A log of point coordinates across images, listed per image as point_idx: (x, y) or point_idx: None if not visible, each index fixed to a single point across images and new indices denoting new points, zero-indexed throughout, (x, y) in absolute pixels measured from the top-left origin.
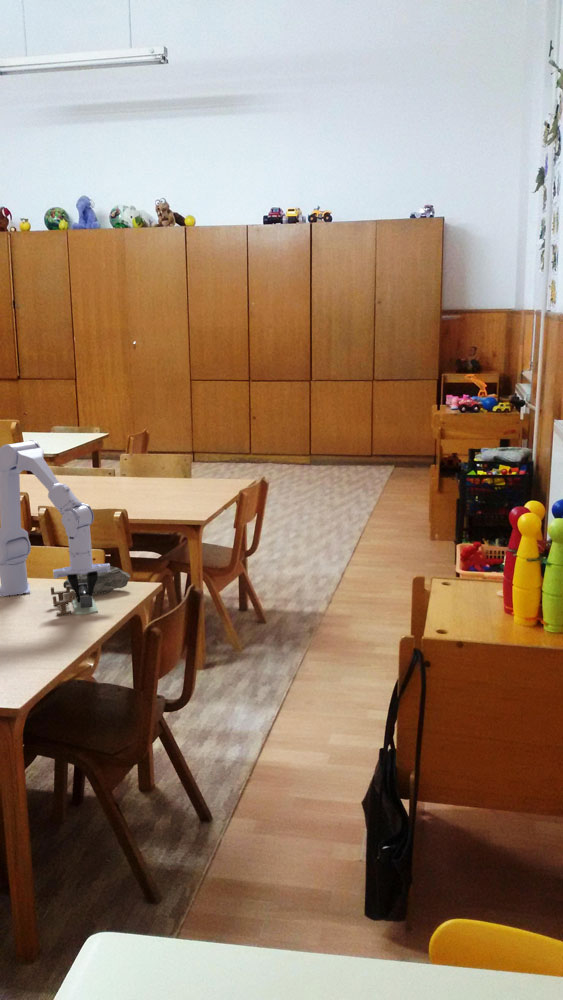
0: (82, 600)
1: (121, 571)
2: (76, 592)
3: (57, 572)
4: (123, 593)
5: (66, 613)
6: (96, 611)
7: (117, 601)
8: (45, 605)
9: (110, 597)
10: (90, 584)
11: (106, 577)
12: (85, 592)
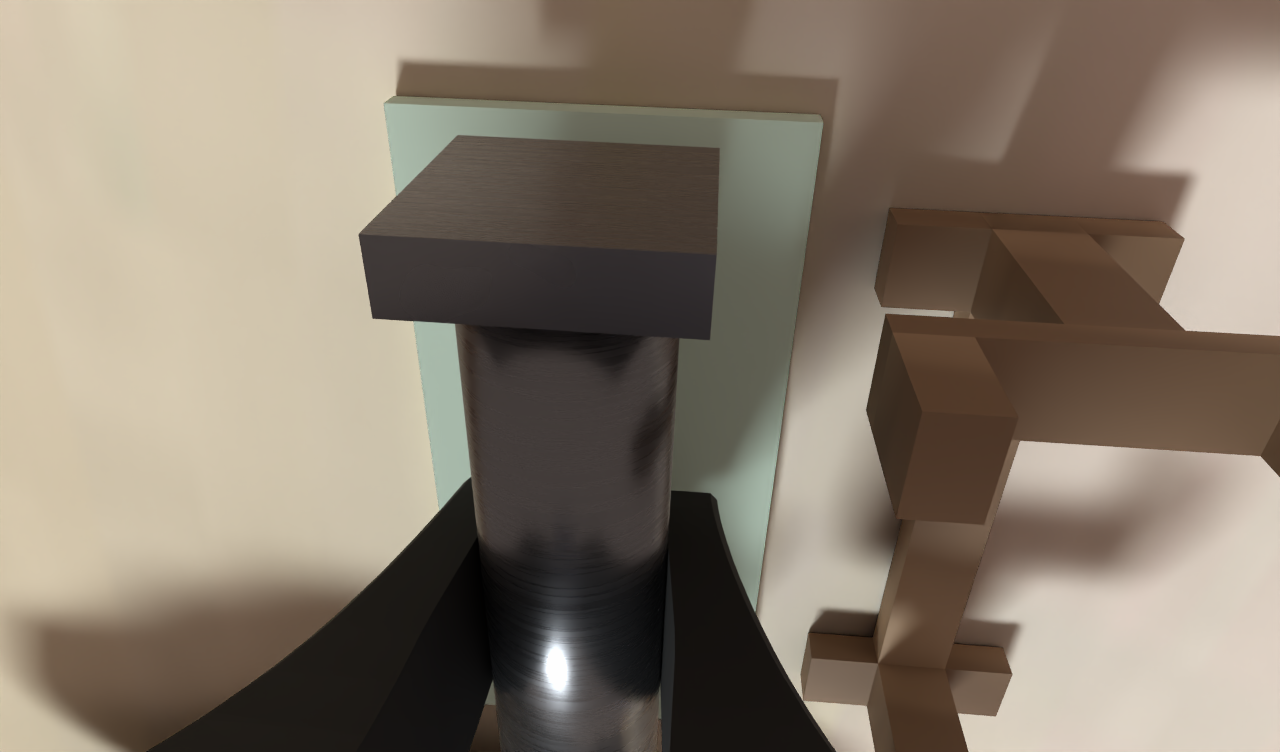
0: (657, 213)
1: None
2: (732, 628)
3: None
4: (99, 686)
5: (988, 222)
6: (419, 101)
7: (122, 470)
8: (1098, 714)
9: (246, 636)
10: (329, 723)
11: None
12: (530, 596)
